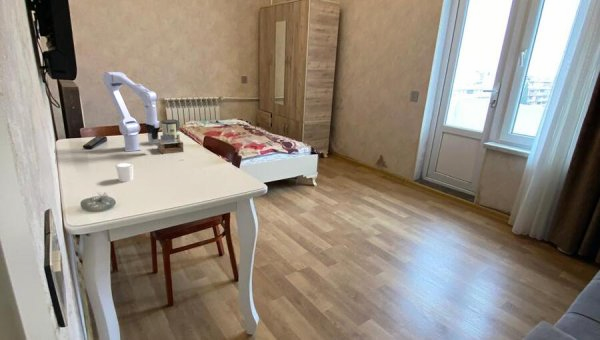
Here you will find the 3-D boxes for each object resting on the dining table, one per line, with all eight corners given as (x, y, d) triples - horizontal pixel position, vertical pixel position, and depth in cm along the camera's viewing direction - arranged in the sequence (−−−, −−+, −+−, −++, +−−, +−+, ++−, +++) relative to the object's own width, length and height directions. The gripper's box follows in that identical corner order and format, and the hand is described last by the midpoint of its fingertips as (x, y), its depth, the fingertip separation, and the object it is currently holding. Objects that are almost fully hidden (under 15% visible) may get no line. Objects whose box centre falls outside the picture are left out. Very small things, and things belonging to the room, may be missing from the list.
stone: (148, 141, 183) (147, 133, 181) (156, 140, 186) (155, 133, 184) (151, 143, 180) (150, 135, 179) (158, 142, 183) (158, 134, 181)
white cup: (123, 183, 141) (121, 168, 139) (114, 179, 144) (112, 165, 142) (138, 179, 147) (136, 164, 144) (129, 175, 150) (127, 161, 148)
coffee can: (173, 139, 216) (171, 118, 212) (183, 142, 211) (182, 121, 207) (159, 142, 208) (157, 120, 204) (169, 145, 203) (168, 123, 198)
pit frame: (157, 148, 195) (156, 138, 193) (177, 146, 201) (177, 137, 199) (162, 153, 185) (161, 143, 183) (183, 151, 191) (182, 141, 189)
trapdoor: (159, 140, 194) (159, 135, 193) (174, 139, 199) (174, 134, 198) (163, 144, 187) (163, 139, 186) (178, 142, 191) (178, 137, 190)
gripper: (163, 115, 176) (165, 139, 180) (153, 111, 185) (155, 134, 190) (150, 116, 171) (152, 141, 175) (140, 112, 181) (143, 136, 185)
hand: (153, 138), depth 182 cm, fingers closed on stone, 4 cm apart
